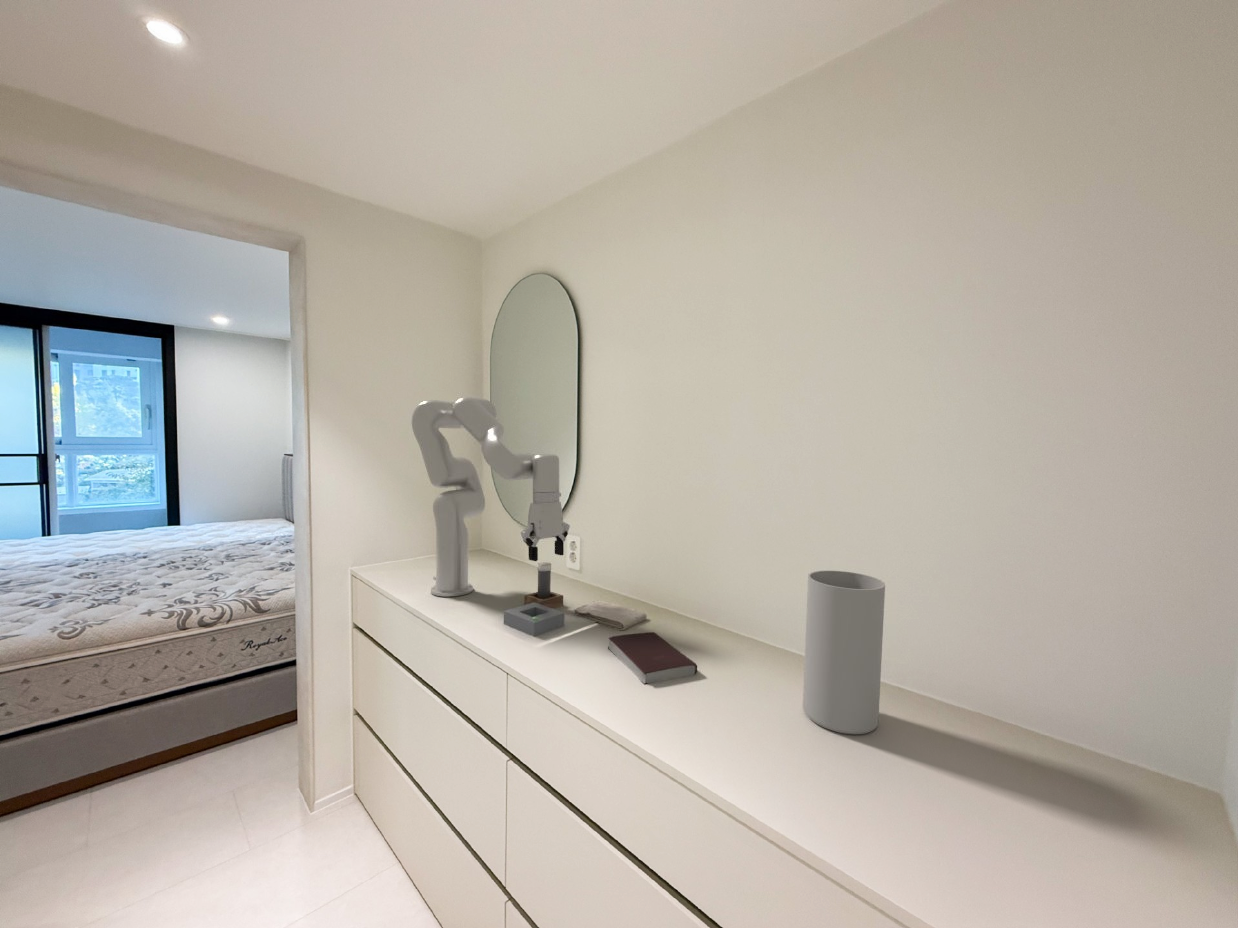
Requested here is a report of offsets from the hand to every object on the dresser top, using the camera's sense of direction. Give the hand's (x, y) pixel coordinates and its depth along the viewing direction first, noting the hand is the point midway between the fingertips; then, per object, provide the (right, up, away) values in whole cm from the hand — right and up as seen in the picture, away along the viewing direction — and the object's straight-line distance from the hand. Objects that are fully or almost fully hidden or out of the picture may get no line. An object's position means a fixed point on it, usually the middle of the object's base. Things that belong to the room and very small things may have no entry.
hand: (546, 557), depth 148 cm
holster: (-1, -15, +1) cm, 15 cm away
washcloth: (+18, -16, -6) cm, 25 cm away
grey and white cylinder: (-1, -14, +1) cm, 14 cm away
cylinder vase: (+60, -19, -55) cm, 84 cm away
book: (+28, -18, -33) cm, 47 cm away
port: (-1, -15, -15) cm, 21 cm away
